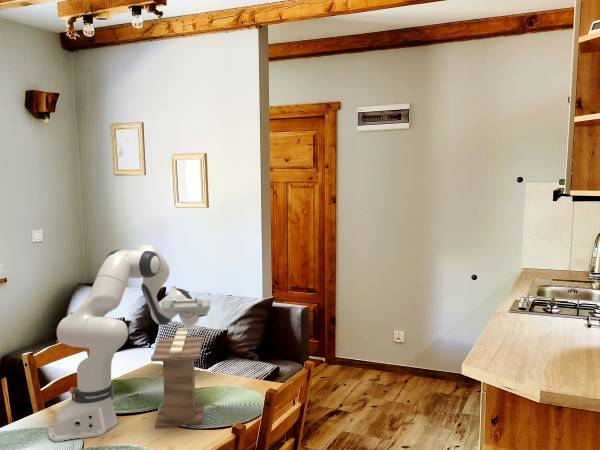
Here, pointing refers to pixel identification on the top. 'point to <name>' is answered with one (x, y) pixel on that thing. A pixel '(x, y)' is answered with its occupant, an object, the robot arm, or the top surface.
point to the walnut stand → (179, 384)
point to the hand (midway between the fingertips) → (184, 300)
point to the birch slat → (178, 343)
